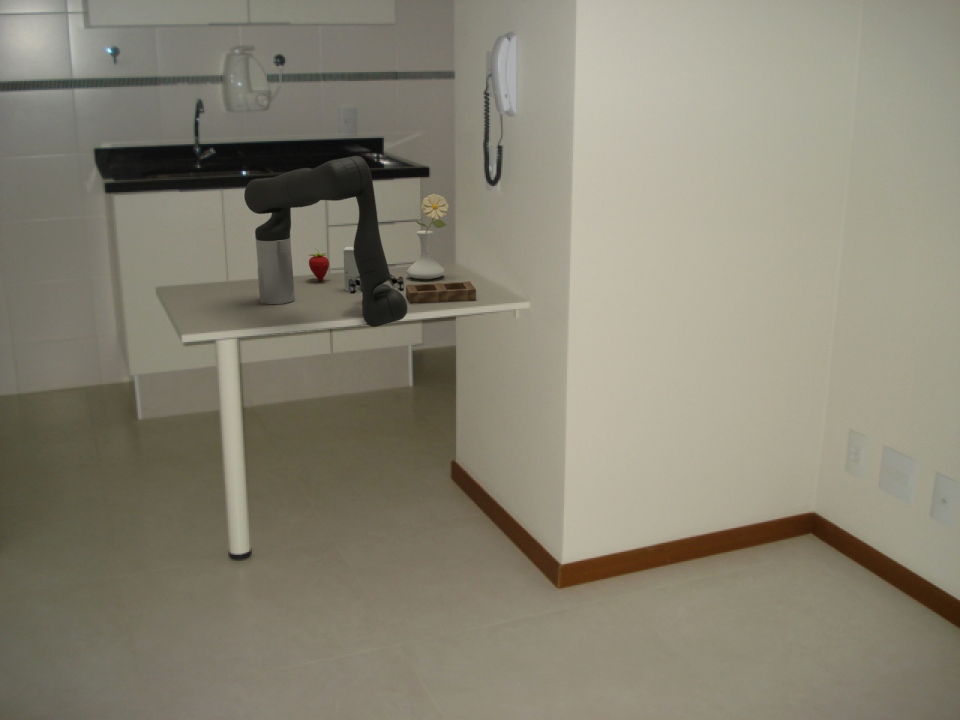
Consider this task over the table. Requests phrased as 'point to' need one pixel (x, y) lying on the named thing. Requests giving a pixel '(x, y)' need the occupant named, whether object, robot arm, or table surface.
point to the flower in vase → (425, 264)
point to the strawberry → (319, 265)
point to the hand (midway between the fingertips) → (374, 278)
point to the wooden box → (440, 292)
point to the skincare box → (349, 266)
